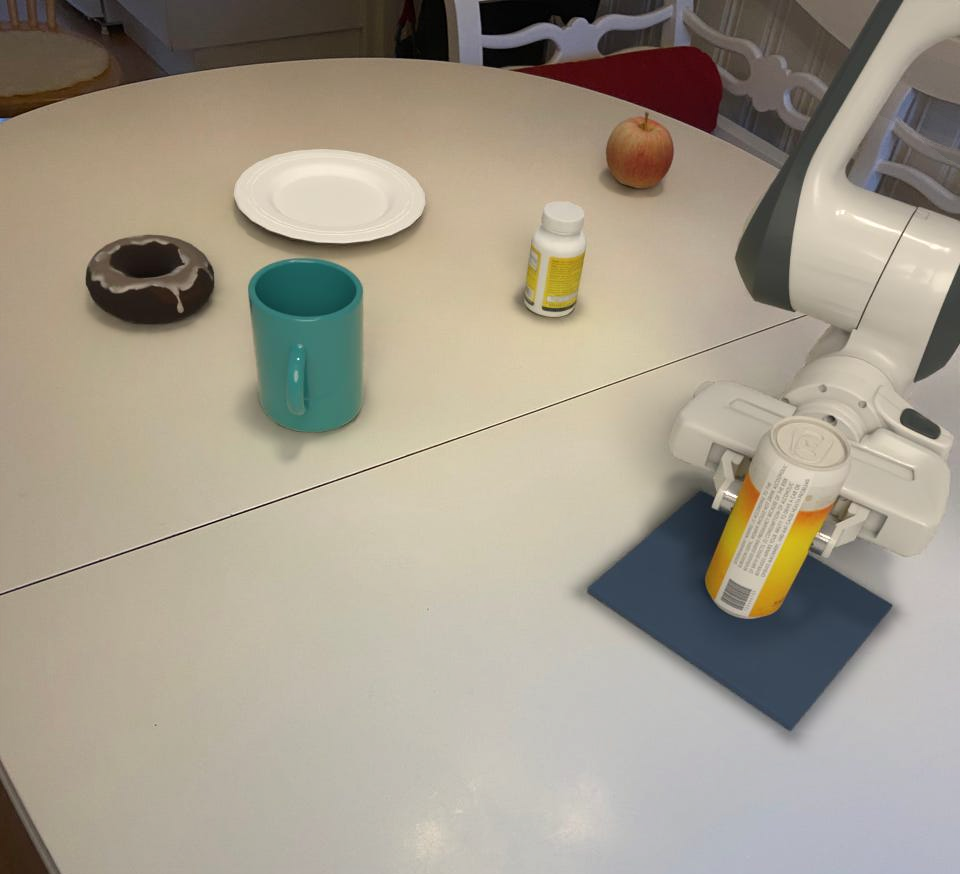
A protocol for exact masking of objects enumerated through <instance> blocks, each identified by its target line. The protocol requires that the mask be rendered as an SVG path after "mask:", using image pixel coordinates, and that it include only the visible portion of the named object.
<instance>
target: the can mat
mask: <svg viewBox="0 0 960 874" xmlns="http://www.w3.org/2000/svg"><path fill="white" fill-rule="evenodd" d="M714 499H715V497H713V496H712V495H710V494H709V493H707V492H705V491H704V490H701V489H700V491H699V492H698V493H696V494H695V495H694V496H692V497H691V498H690V499H689V500H688V501H687V502H686V503H684V505H682V506H681V507H680V508H679V509H677V510H676V511H675V512H674V513H673V514H672V515H671V516H670V517H668V518H667V519H666V520H665V521H664V522H663V523H661V524H660V525H659V526H658V527H657V528H656V529H654V530H653V531H652V532H651V533H650V534H649V535H648V536H647V537H645V538H644V539H643V540H642V541H641V542H639V543H638V544H637V545H636V546H634V548H632V549H631V550H630V551H629V552H628V553H627V554H626V555H624V556H623V557H621V559H620V560H619V561H618V562H616V563H615V564H614V565H613V566H611V568H609V569H608V570H607V571H606V572H605V573H604V574H603V575H601V576H600V577H599V578H598V579H597V580H595V581H594V582H593V583H592V584H591V585H590V586H588V588H587V594H589V595H590V596H592V597H594V598H595V599H596V600H598V601H600V602H601V603H603V604H604V605H606V606H607V607H608V608H609V609H611V610H612V611H614V612H616V613H617V614H619V615H620V616H621V617H623V618H624V619H626V620H627V621H629V622H630V623H631V624H633V625H635V626H636V627H638V628H639V629H641V630H642V631H644V632H645V633H646V634H648V635H649V636H650V637H652V638H654V639H655V640H657V642H659V643H661V644H662V645H664V646H666V648H668V649H670V650H671V651H672V652H674V653H676V654H677V655H679V656H680V657H682V658H683V659H684V660H686V661H688V662H689V663H691V664H692V665H693V666H695V667H696V668H697V669H699V670H701V671H702V672H704V673H705V674H707V675H708V676H710V677H711V678H713V679H714V680H715V681H717V682H718V683H720V684H721V685H723V686H724V687H726V688H727V689H728V690H730V691H731V692H733V693H734V694H736V695H737V696H739V697H740V698H742V699H743V700H744V701H746V702H747V703H749V704H750V705H752V706H753V707H755V708H756V709H758V710H759V711H761V712H762V713H764V714H765V715H767V716H768V717H770V718H771V719H772V720H774V721H775V722H777V723H778V724H781V726H783V727H784V728H786V729H787V730H789V731H792V730H793V729H794V727H796V725H797V724H798V722H800V721H801V719H802V717H803V716H804V715H805V714H806V713H807V712H808V710H809V709H810V708H811V707H812V706H813V704H814V703H815V702H816V700H818V698H819V697H820V696H821V695H822V693H823V692H825V690H826V689H827V687H828V686H829V685H830V684H831V683H832V681H833V680H834V679H835V677H836V676H837V675H839V673H840V671H842V669H843V668H844V667H845V665H846V664H847V663H848V662H849V660H851V658H852V657H853V656H854V654H855V653H856V652H857V651H858V649H860V647H861V646H862V645H863V643H864V642H866V640H867V639H868V638H869V636H870V635H871V634H872V632H874V630H875V629H876V628H877V626H878V625H879V624H880V623H881V622H882V620H883V619H885V617H886V615H887V614H888V613H889V612H890V611H891V609H892V608H893V604H892V603H890V602H888V601H886V600H885V599H884V598H882V597H881V596H879V595H877V594H875V593H874V592H872V591H870V590H869V589H867V588H866V587H863V586H862V585H860V584H859V583H857V582H856V581H854V580H852V579H851V578H849V577H847V576H845V575H844V574H842V573H840V572H839V571H837V570H835V569H834V568H833V567H830V566H828V565H827V564H825V563H824V562H822V561H821V560H819V559H817V558H815V557H813V556H812V555H810V554H809V553H808V554H807V556H806V558H805V560H804V562H803V564H802V566H801V568H800V570H799V572H798V574H797V576H796V578H795V580H794V582H793V583H792V585H791V587H790V589H789V591H788V593H787V595H786V597H785V599H784V601H783V603H782V605H781V606H780V608H779V609H778V610H777V611H775V612H774V613H772V614H770V615H767V616H763V617H759V618H754V619H744V618H739V617H735V616H733V615H730V614H728V613H726V612H725V611H723V610H722V609H721V608H719V607H718V606H717V605H716V604H715V602H714V601H713V599H712V598H711V595H710V594H709V592H708V590H707V588H706V584H705V576H706V573H707V570H708V568H709V565H710V563H711V560H712V558H713V556H714V553H715V551H716V548H717V546H718V543H719V541H720V538H721V536H722V533H723V531H724V528H725V526H726V523H727V521H728V518H729V516H730V515H727V514H725V513H723V512H720V511H718V510H716V509H713V508H712V504H713V502H714Z"/></svg>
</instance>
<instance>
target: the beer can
mask: <svg viewBox="0 0 960 874" xmlns="http://www.w3.org/2000/svg"><path fill="white" fill-rule="evenodd" d="M850 456H851V445H850V443H849V441H848V439H847V438H846V436H845V435H844V434H843V433H842V432H841V431H840V430H838V429H837V428H836V427H834V426H832V425H831V424H829V423H827V422H825V421H822V420H820V419H816V418H812V417H807V416H790V417H785V418H783V419H780V420H779V421H777V422H776V423H775V424H774V425H773V427H772V428H771V429H770V430H768V431H767V432H766V433H765V434H764V435H763V436H762V437H761V439H760V442H759V444H758V447H757V449H756V452H755V454H754V457H753V459H752V462H751V464H750V467H749V469H748V471H747V474H746V476H745V479H744V481H743V484H742V486H741V489H740V491H739V494H738V496H737V499H736V502H735V505H734V507H733V509H732V512H731V514H730V516H729V518H728V521H727V523H726V526H725V528H724V531H723V533H722V536H721V538H720V541H719V543H718V546H717V548H716V551H715V553H714V556H713V558H712V560H711V563H710V565H709V568H708V570H707V573H706V576H705V584H706V588H707V590H708V592H709V594H710V595H711V598H712V599H713V601H714V602H715V604H716V605H717V606H718V607H719V608H721V609H722V610H723V611H725V612H726V613H728V614H730V615H733V616H735V617H739V618H744V619H754V618H759V617H763V616H767V615H770V614H772V613H774V612H775V611H777V610H778V609H779V608H780V606H781V605H782V603H783V601H784V599H785V597H786V595H787V593H788V591H789V589H790V587H791V585H792V583H793V582H794V580H795V578H796V576H797V574H798V572H799V570H800V568H801V566H802V564H803V562H804V560H805V558H806V556H807V554H809V553H810V551H809V550H808V549H809V547H810V545H811V544H812V543H813V542H812V541H813V540H814V538H815V536H816V534H817V533H818V532H819V531H820V529H821V527H822V525H823V523H824V521H825V519H826V517H827V515H828V513H829V512H830V510H831V508H832V506H833V504H834V502H835V500H836V498H837V496H838V494H839V492H840V490H841V488H842V486H843V484H844V482H845V480H846V478H847V477H848V475H849V473H850V470H851V460H850Z"/></svg>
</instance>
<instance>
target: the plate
mask: <svg viewBox="0 0 960 874" xmlns="http://www.w3.org/2000/svg"><path fill="white" fill-rule="evenodd" d="M420 184H421V183H419V181H418V180H417V179H416V178H415V177H414V176H412V175H411V174H410V172H409V173H408V171H406V170H405V169H404V168H402V167H400V166H398V165H397V164H394V163H392V162H390V161H388V160H386V159H382V158H380V157H376V156H373V155H371V154H366V153H361V152H357V151H350V150H344V149H329V148H313V149H299V150H293V151H288V152H284V153H279V154H274V155H271V156H269V157H266V158H264V159H262V160H260V161H257V162H255V163H254V164H253V165H251V166H250V167H248V168H246V169H245V170H244V171H243V172H242V173H241V175H240V176H239V177H238V179H237V180H236V182H235V183H234V187H233V188H234V190H233V199H234V201H235V204H236V206H237V208H238V210H239V212H241V213H242V214H243V216H245V217H246V218H247V219H248V220H249V222H251V223H253V224H254V225H256V226H258V227H259V228H261V229H263V230H265V231H267V232H269V233H271V234H273V235H275V236H276V235H277V236H280V237H282V238H285V239H288V240H291V241H297V242H302V243H308V244H313V245H321V246H322V245H324V246H352V245H360V244H369V243H370V244H371V243H373V242H377V241H381V240H386V239H389V238H392V237H394V236H396V235H398V234H400V233H401V232H404V231H406V230H408V229H410V227H412V226H413V225H414V224H415V223H417V221H418V220H419V219H421V217H422V215H423V212H424V210H425V208H426V206H427V202H426V194H425V190H424V189H423V187H422V186H421V185H420Z"/></svg>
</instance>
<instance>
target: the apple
mask: <svg viewBox="0 0 960 874" xmlns="http://www.w3.org/2000/svg"><path fill="white" fill-rule="evenodd" d="M649 115H650V113H649V111H645V112H644V116H635V117H630V118H627V119H624V120H623V121H621V122H620V123H618V124H617V125H616V126H615V127H614V129H613V130H612V131H611V133H610V135H609V137H608V140H607V143H606V147H605V159H606V164H607V167H608V170H609V171H610V173H611V175H612V176H613V177H614V179H615V180H616V181H618V182H619V183H620V184H622V185H624V186H629V187H632V188H635V189H647V188H651V187H654V186H655V185H657V184H658V183H660V182H661V181H662V180H663V179H664V177H666V175H667V173H668V172H669V171H670V168H671V166H672V164H673V160H674V154H675V149H674V148H675V147H674V146H675V145H674V142H673V138H672V135H671V133H670V131H669V129H667V128H666V127H665V126H664V125H663V124H661V123H660V122H658V121H657V120H654V119H651V118H649Z"/></svg>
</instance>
